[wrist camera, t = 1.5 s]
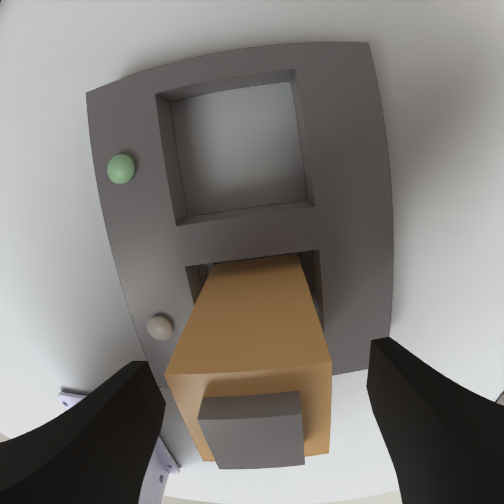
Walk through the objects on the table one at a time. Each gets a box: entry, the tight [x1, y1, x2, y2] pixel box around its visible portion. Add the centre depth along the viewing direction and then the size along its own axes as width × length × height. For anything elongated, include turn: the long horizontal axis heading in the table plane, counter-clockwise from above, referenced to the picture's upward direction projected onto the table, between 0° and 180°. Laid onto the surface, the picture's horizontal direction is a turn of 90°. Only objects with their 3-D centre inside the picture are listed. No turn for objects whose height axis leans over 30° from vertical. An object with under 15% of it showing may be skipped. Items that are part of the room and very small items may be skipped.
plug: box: [164, 254, 332, 469], centre depth 10 cm, size 4×4×9 cm
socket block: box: [86, 42, 393, 388], centre depth 12 cm, size 15×12×2 cm
